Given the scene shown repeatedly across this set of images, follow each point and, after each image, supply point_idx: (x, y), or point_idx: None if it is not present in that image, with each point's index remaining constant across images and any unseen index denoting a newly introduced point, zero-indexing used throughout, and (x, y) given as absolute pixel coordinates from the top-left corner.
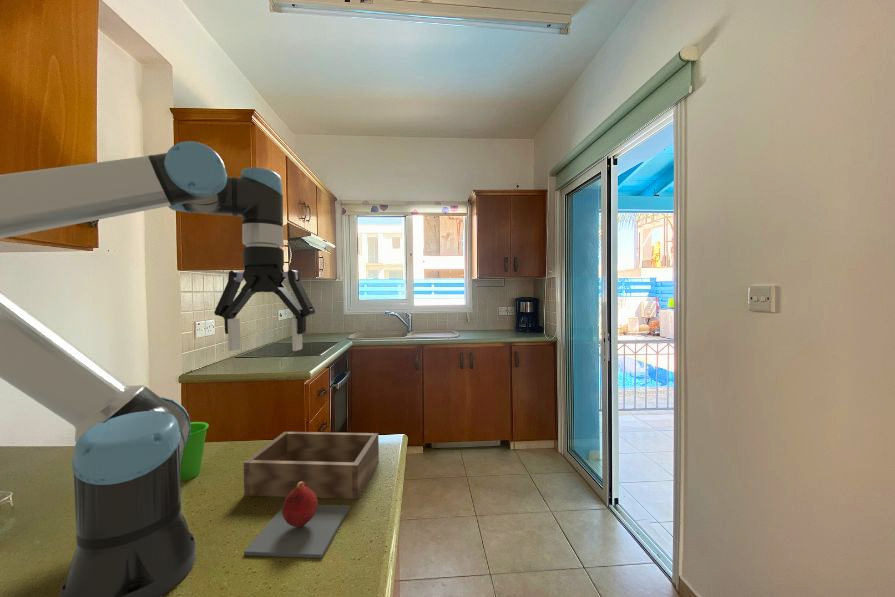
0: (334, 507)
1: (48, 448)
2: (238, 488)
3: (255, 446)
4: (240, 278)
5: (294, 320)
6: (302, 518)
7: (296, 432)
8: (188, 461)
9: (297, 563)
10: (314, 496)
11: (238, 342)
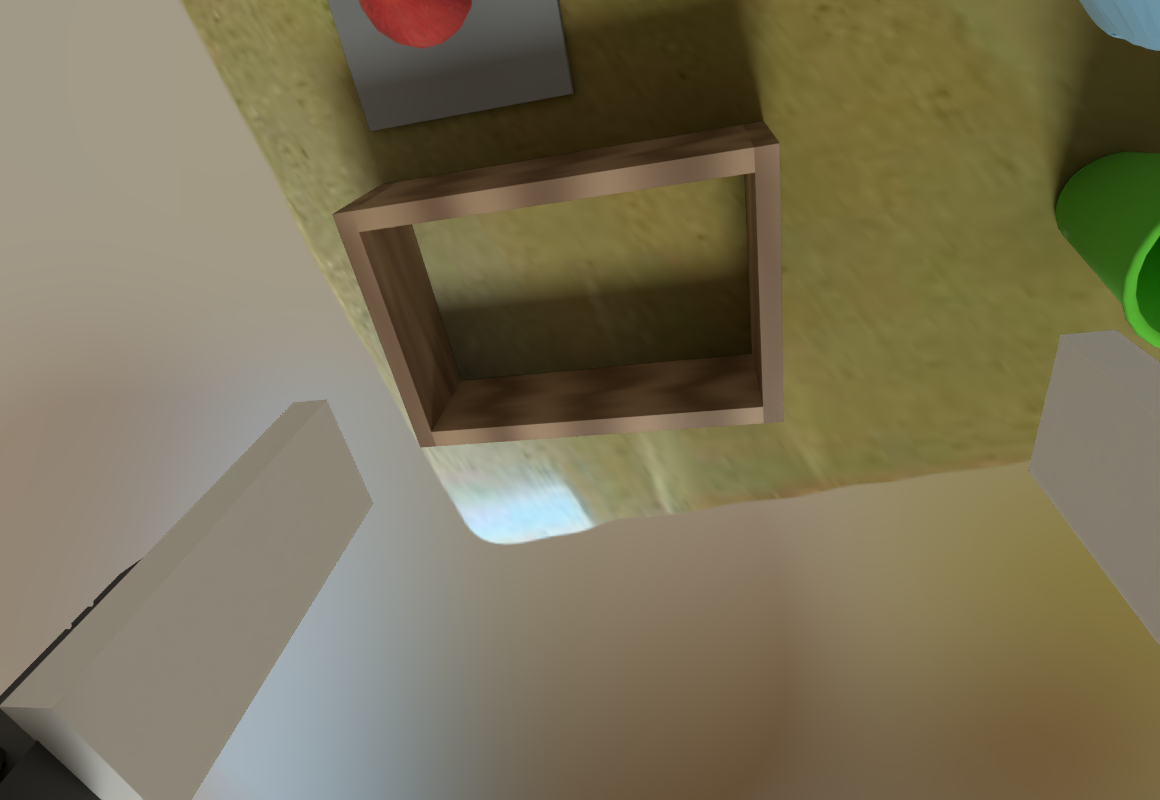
0: (406, 110)
1: None
2: (817, 159)
3: (943, 431)
4: None
5: (42, 682)
6: None
7: (727, 420)
8: (1110, 184)
9: None
10: (359, 2)
11: (1077, 496)
